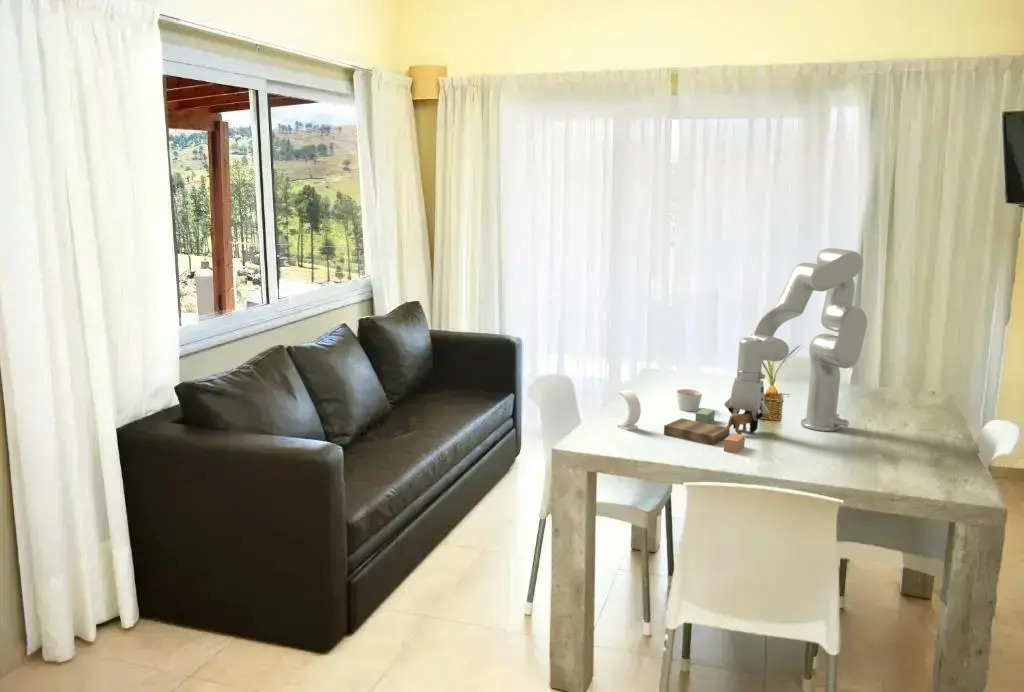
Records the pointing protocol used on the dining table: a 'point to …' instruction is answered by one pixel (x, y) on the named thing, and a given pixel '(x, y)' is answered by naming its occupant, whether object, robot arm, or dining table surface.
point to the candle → (688, 399)
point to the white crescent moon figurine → (631, 410)
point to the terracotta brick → (734, 443)
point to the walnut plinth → (696, 431)
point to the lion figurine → (740, 420)
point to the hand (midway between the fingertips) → (744, 429)
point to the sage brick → (705, 415)
